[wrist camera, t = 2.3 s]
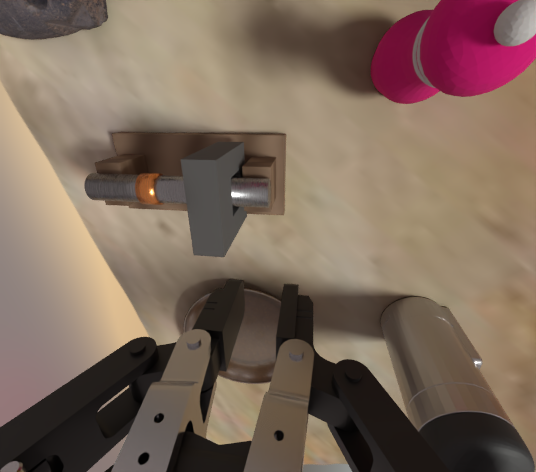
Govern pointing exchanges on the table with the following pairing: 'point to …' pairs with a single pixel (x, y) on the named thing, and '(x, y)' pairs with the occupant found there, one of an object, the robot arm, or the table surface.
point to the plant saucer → (249, 337)
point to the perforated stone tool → (49, 17)
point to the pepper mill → (455, 49)
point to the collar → (213, 196)
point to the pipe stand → (184, 144)
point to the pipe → (169, 189)
